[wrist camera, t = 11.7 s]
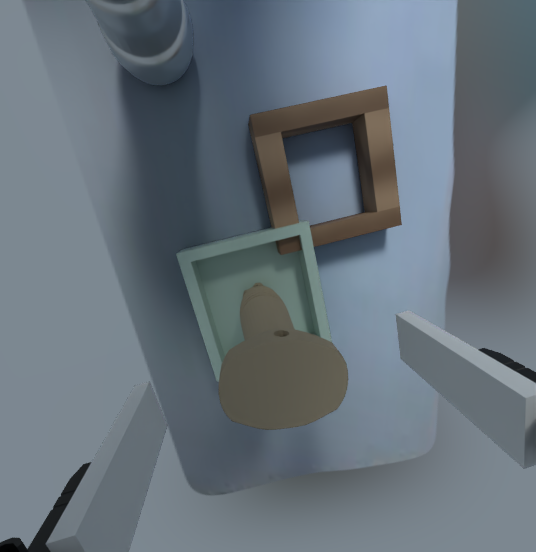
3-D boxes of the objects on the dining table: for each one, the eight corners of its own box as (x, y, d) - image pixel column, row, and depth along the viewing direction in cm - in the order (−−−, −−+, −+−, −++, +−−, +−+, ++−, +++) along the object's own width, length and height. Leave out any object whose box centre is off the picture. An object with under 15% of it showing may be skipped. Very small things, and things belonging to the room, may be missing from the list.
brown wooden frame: (248, 124, 25) (249, 114, 22) (371, 97, 26) (386, 85, 23) (277, 251, 28) (281, 255, 25) (387, 223, 28) (401, 224, 26)
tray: (182, 249, 26) (175, 253, 23) (300, 220, 27) (308, 221, 24) (218, 364, 30) (216, 381, 27) (323, 335, 30) (333, 348, 27)
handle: (289, 316, 29) (346, 421, 14) (228, 321, 28) (221, 436, 13) (288, 272, 28) (350, 335, 13) (225, 275, 27) (214, 346, 12)
